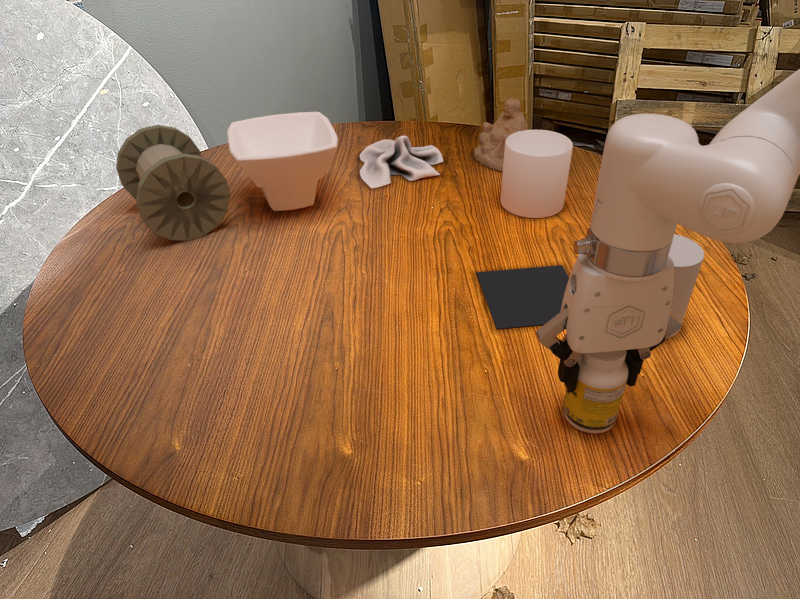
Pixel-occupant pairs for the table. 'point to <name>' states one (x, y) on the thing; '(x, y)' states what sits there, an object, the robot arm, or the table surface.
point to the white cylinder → (535, 173)
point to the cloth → (397, 161)
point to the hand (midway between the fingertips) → (597, 379)
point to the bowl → (284, 155)
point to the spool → (172, 183)
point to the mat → (524, 295)
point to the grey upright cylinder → (684, 273)
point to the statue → (499, 135)
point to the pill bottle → (597, 391)
